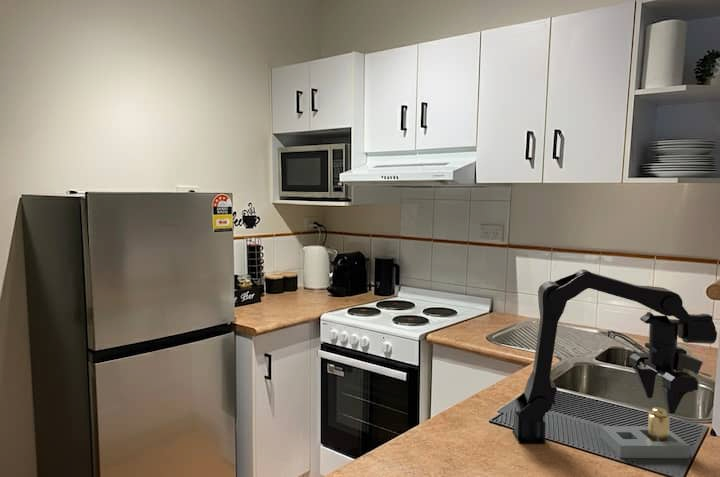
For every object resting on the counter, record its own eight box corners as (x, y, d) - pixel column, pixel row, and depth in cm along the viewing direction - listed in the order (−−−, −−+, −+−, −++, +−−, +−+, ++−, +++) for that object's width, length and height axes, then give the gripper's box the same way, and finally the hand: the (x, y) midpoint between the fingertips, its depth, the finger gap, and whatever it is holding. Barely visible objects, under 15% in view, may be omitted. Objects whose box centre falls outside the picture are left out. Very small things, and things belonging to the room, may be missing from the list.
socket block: (620, 458, 118) (620, 445, 118) (600, 437, 128) (600, 426, 128) (689, 458, 118) (690, 445, 118) (664, 437, 128) (664, 426, 128)
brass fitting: (653, 452, 121) (655, 413, 120) (643, 443, 125) (645, 405, 125) (672, 452, 121) (674, 413, 120) (661, 443, 125) (663, 405, 124)
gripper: (724, 353, 112) (721, 422, 113) (673, 331, 130) (670, 390, 131) (673, 353, 112) (670, 422, 113) (629, 331, 130) (627, 390, 132)
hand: (660, 405), depth 122 cm, fingers open, 9 cm apart
